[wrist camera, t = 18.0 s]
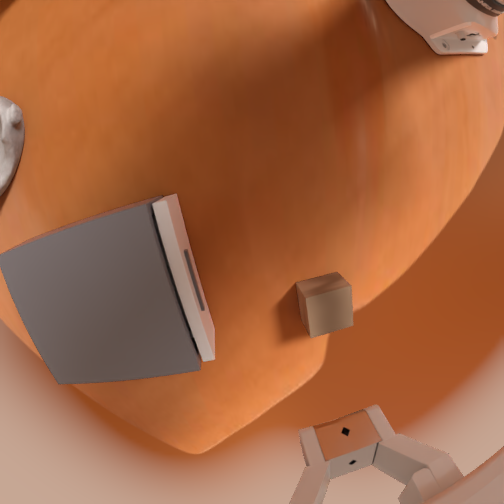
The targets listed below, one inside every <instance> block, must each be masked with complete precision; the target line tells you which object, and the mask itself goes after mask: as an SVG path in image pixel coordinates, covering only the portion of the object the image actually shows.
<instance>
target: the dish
mask: <svg viewBox="0 0 504 504" xmlns="http://www.w3.org/2000/svg"><path fill="white" fill-rule="evenodd" d="M24 133H25V129H24V121H23V115H22V111H21V109H20V108H19V106H17V105H16V104H14V103H13V102H12V101H11V100H9V99H7V98H5V97H2V96H0V196H1V195H2V194H3V192H4V191H5V190H6V189H7V187H8V185H9V184H10V182H11V180H12V178H13V176H14V174H15V171H16V169H17V166H18V164H19V160H20V157H21V153H22V148H23V144H24Z"/></svg>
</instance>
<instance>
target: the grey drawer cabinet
mask: <svg viewBox="0 0 504 504" xmlns="http://www.w3.org/2000/svg"><path fill="white" fill-rule="evenodd" d="M162 198H163V195H161V196H157V197H154V198H150V199H146V200H143V201H140V202H136V203H133V204H129V205H126V206H123V207H120V208H116V209H113V210H110V211H107V212H104V213H101V214H98V215H95V216H92V217H89V218H86V219H83V220H80V221H77V222H74V223H71V224H68V225H66V226H63V227H60V228H57V229H55V230H52V231H49V232H47V233H44V234H41V235H39V236H36V237H34V238H31V239H29V240H27V241H25V242H23V243H21V244H19V245H17V246H15V247H13V248H11V249H9V250H7V251H5V252H4V253H2V254H0V267H1V270H2V273H3V276H4V279H5V281H6V284H7V286H8V289H9V291H10V294H11V296H12V299H13V301H14V303H15V305H16V308H17V310H18V312H19V314H20V316H21V319H22V321H23V323H24V325H25V327H26V329H27V331H28V333H29V335H30V337H31V339H32V340H33V342H34V344H35V346H36V348H37V350H38V351H39V353H40V355H41V357H42V358H43V360H44V362H45V363H46V365H47V367H48V368H49V370H50V371H51V373H52V375H53V376H54V378H55V379H56V381H57V382H58V384H81V383H99V382H113V381H124V380H134V379H143V378H152V377H159V376H167V375H174V374H180V373H187V372H193V371H199V370H201V355H200V352H199V350H198V347H197V344H196V342H195V339H194V337H193V338H191V337H190V334H189V331H188V329H187V326H186V323H185V320H184V317H183V315H182V312H181V309H180V306H179V303H178V300H177V297H176V294H175V291H174V288H173V285H172V282H171V279H170V276H169V273H168V270H167V267H166V263H165V260H164V257H163V254H162V250H161V247H160V243H159V240H158V236H157V233H156V229H155V226H154V222H153V218H152V214H155V213H154V209H153V205H152V204H153V203H155V202H156V201H158V200H160V199H162Z"/></svg>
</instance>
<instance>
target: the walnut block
mask: <svg viewBox="0 0 504 504" xmlns="http://www.w3.org/2000/svg"><path fill="white" fill-rule="evenodd" d="M296 289H297V295H298V302H299V308H300V315H301V321H302V322H303V324H304V326H305V328H306V330H307V332H308V334H309V336H310V338H313V337H317V336H320V335H324V334H327V333H330V332H334V331H337V330H340V329H343V328H346V327H349V326H353V306H352V288H351V285H350V284H349V283H348V282H347V281H346V280H345V279H344V278H343V277H342V276H341V275H340V274H339V273H338V272H335V273H331V274H327V275H323V276H319V277H316V278H312V279H308V280H304V281H300V282H296Z"/></svg>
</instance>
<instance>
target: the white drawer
mask: <svg viewBox="0 0 504 504" xmlns="http://www.w3.org/2000/svg"><path fill="white" fill-rule="evenodd" d="M152 205H153V209H154V213H155V214H152V218H153V222H154V226H155V229H156V233H157V236H158V240H159V243H160V247H161V250H162V254H163V257H164V260H165V263H166V267H167V270H168V273H169V276H170V279H171V282H172V285H173V288H174V291H175V294H176V297H177V300H178V303H179V306H180V309H181V312H182V315H183V317H184V320H185V323H186V326H187V329H188V331H189V334H190V337H191V338H193V337H194V339H195V342H196V344H197V347H198V350H199V352H200V355H201V357H202V360H203V362H205V361H210V360H215V328H214V325H213V321H212V318H211V315H210V312H209V309H208V305H207V302H206V299H205V296H204V292H203V289H202V286H201V282H200V279H199V275H198V272H197V268H196V265H195V261H194V258H193V254H192V250H191V247H190V243H189V239H188V236H187V232H186V228H185V224H184V220H183V217H182V213H181V209H180V205H179V201H178V197H177V193H176V194H172V195H169V196H165V197H163V198H162V199H160V200H158V201H156V202H155V203H153V204H152Z"/></svg>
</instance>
